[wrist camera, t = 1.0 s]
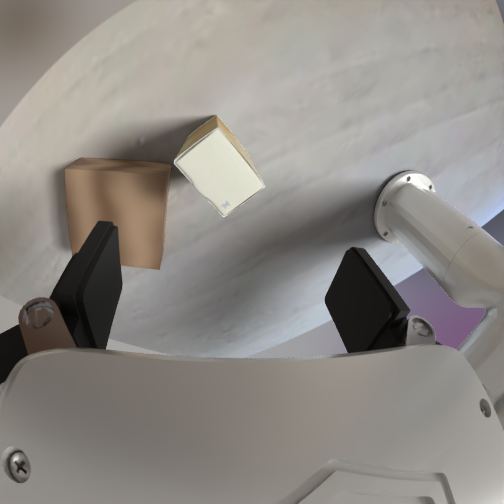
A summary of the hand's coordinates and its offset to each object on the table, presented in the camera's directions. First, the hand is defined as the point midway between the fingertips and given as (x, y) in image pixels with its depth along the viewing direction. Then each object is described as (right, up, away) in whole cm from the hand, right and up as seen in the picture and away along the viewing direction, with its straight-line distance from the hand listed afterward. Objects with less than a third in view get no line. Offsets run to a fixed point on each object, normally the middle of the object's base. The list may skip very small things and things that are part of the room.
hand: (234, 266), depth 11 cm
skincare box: (-3, +13, +19) cm, 23 cm away
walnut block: (-16, +7, +21) cm, 27 cm away
